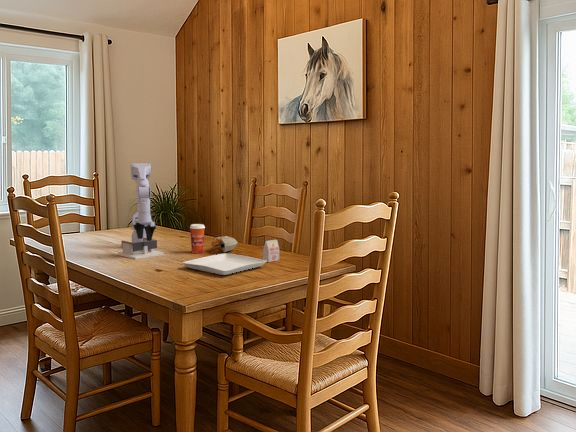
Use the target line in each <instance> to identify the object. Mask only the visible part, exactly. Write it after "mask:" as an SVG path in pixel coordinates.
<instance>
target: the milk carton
mask: <svg viewBox="0 0 576 432" xmlns="http://www.w3.org/2000/svg"><path fill="white" fill-rule="evenodd" d="M262 260H266V261H267V262H270V263H273V262H272V261H276V262H279V261H280V245H279V242H278V239H272V240H271V239H270V240H265V242H264V246H263V248H262ZM278 260H279V261H278ZM267 262H266V263H267Z"/></svg>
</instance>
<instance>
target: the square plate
mask: <svg viewBox="0 0 576 432" xmlns="http://www.w3.org/2000/svg"><path fill="white" fill-rule="evenodd" d="M266 263H267V261H266V260H263V258H262V259H260V258H256V257H253V256H248V255H241V254H234V253H227V252H223V253H217V255H216V254H211V255H208V256H204V257H199V258H194V259H189V260H187V261H181V264H183V265H184V266H185V267H186V268H189V269H192V270H196V271H202V272H205V273H210V274H214V273H215V274H216V275H221V276H226V275H233V274H237V273H241V272H245V271H244V270H246V271H248V269H250V270H253V269H255V268H259V267H262V266H263V265H265V264H266ZM252 268H253V269H252ZM240 271H241V272H240ZM236 272H237V273H236ZM232 273H233V274H232Z"/></svg>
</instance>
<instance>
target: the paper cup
mask: <svg viewBox="0 0 576 432" xmlns="http://www.w3.org/2000/svg"><path fill="white" fill-rule="evenodd" d="M205 228H206V226H205V224H204V223H203V224H202V223H192V224H190V227H189V229H190V243H191V246H190V247H191V254H195V255H196V254H203V253H204V247H205V245H204V244H205Z"/></svg>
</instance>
